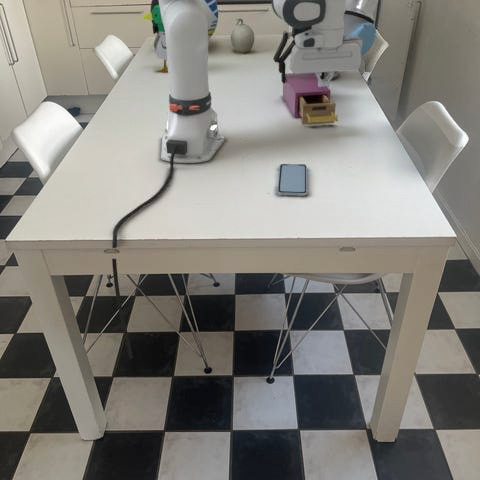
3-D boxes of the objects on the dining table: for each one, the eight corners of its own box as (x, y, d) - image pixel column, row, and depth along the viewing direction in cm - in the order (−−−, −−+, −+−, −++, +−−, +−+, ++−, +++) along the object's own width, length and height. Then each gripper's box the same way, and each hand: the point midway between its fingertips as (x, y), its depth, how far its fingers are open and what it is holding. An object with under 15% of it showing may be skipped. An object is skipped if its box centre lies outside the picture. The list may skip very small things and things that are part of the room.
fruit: (247, 46, 238) (247, 12, 230) (258, 52, 229) (258, 17, 221) (227, 49, 235) (225, 14, 226) (236, 55, 226) (235, 19, 218)
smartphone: (277, 192, 126) (279, 163, 138) (277, 196, 127) (279, 166, 139) (307, 193, 125) (307, 164, 137) (307, 196, 126) (306, 167, 138)
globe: (220, 56, 226) (217, -19, 209) (152, 59, 225) (143, -17, 207) (218, 39, 250) (215, -30, 233) (156, 41, 249) (149, -28, 232)
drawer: (339, 129, 156) (341, 110, 153) (306, 132, 155) (307, 112, 152) (319, 101, 176) (320, 83, 172) (290, 103, 175) (290, 85, 172)
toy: (155, 65, 218) (148, 2, 203) (198, 69, 211) (194, 5, 197) (145, 70, 212) (137, 6, 198) (190, 75, 205) (185, 9, 191)
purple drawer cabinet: (328, 115, 168) (330, 90, 164) (294, 117, 167) (295, 93, 163) (313, 94, 185) (315, 71, 180) (282, 96, 184) (283, 73, 179)
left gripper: (359, 32, 146) (354, 80, 154) (289, 36, 145) (287, 85, 153) (367, 38, 141) (361, 87, 149) (293, 42, 139) (292, 92, 147)
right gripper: (339, 9, 169) (335, 74, 181) (264, 14, 167) (265, 79, 179) (346, 14, 163) (341, 81, 175) (268, 20, 161) (268, 86, 173)
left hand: (323, 86), depth 151 cm, fingers closed
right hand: (302, 80), depth 177 cm, fingers open, 13 cm apart
